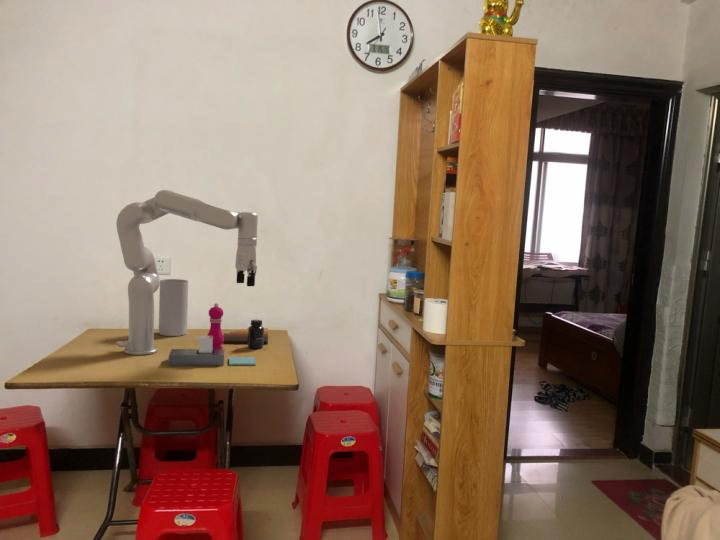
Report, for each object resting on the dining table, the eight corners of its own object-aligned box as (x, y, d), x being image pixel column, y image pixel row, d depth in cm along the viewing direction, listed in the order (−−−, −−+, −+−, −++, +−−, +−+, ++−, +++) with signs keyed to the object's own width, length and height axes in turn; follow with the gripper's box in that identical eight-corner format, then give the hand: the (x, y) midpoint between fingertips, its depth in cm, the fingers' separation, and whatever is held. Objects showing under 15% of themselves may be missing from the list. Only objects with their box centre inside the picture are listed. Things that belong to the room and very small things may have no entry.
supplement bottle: (259, 350, 248) (260, 322, 247) (244, 348, 250) (245, 321, 249) (265, 346, 255) (266, 319, 254) (251, 345, 256) (252, 318, 255)
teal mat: (229, 365, 221) (229, 363, 221) (229, 359, 231) (229, 357, 230) (255, 365, 223) (255, 363, 223) (254, 359, 233) (254, 357, 233)
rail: (168, 365, 216) (168, 355, 216) (171, 359, 226) (171, 349, 225) (223, 365, 220) (224, 355, 220) (224, 359, 230) (224, 349, 230)
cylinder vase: (181, 337, 264) (183, 283, 262) (154, 335, 264) (155, 281, 262) (190, 332, 277) (191, 280, 274) (164, 330, 277) (165, 278, 275)
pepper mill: (227, 349, 246) (228, 303, 244) (216, 353, 239) (217, 305, 237) (213, 347, 249) (214, 301, 247) (202, 350, 242) (203, 303, 240)
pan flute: (210, 344, 255) (267, 345, 259) (210, 337, 255) (267, 338, 259) (215, 333, 280) (267, 334, 284) (215, 326, 280) (268, 327, 284)
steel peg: (198, 364, 221) (198, 338, 220) (198, 360, 226) (199, 335, 225) (211, 364, 222) (212, 338, 221) (212, 360, 227) (212, 335, 226)
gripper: (229, 241, 240) (228, 282, 241) (247, 244, 226) (246, 287, 228) (246, 241, 244) (244, 281, 246) (265, 244, 230) (263, 287, 232)
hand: (245, 284), depth 237 cm, fingers open, 9 cm apart
